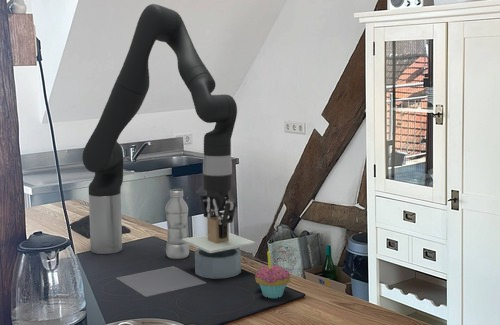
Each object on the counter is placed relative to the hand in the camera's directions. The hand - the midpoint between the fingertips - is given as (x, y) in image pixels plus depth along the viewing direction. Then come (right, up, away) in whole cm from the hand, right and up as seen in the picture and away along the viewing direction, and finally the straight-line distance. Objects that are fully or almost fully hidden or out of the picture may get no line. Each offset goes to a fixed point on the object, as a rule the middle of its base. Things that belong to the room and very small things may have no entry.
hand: (217, 235), depth 172 cm
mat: (-14, -11, -6) cm, 19 cm away
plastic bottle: (-12, -8, +15) cm, 21 cm away
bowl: (0, -10, +1) cm, 10 cm away
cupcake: (+14, -13, -14) cm, 24 cm away
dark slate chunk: (-43, -4, +48) cm, 64 cm away
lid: (0, -2, 0) cm, 2 cm away
